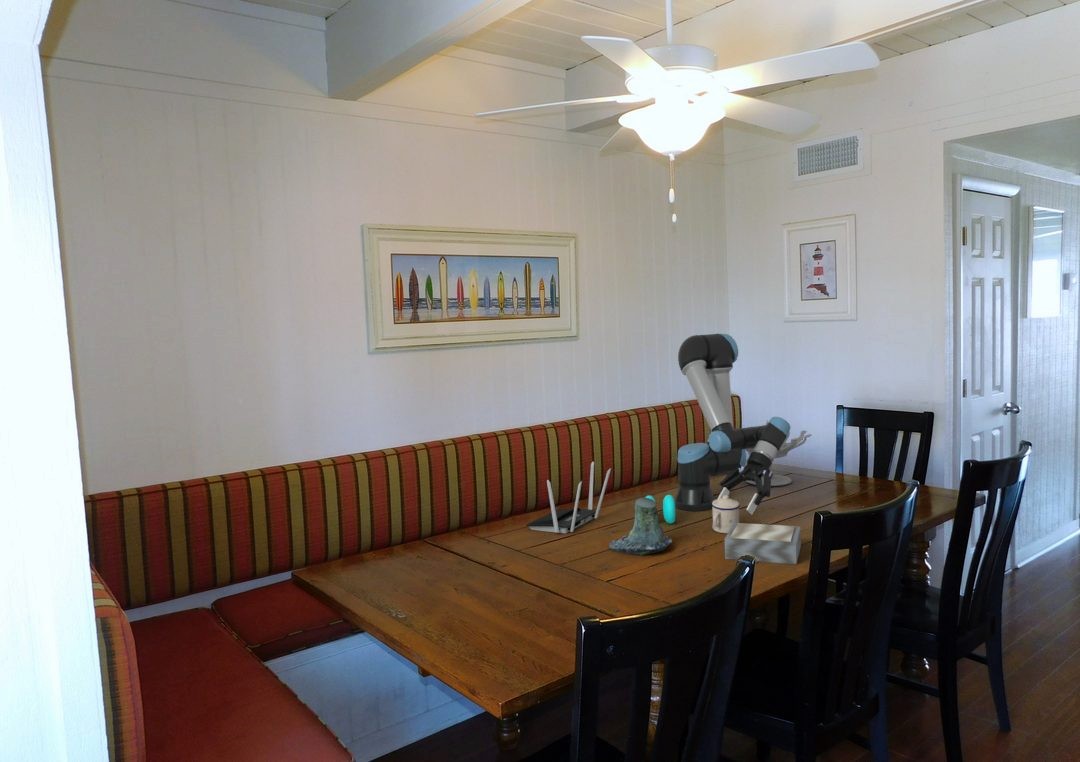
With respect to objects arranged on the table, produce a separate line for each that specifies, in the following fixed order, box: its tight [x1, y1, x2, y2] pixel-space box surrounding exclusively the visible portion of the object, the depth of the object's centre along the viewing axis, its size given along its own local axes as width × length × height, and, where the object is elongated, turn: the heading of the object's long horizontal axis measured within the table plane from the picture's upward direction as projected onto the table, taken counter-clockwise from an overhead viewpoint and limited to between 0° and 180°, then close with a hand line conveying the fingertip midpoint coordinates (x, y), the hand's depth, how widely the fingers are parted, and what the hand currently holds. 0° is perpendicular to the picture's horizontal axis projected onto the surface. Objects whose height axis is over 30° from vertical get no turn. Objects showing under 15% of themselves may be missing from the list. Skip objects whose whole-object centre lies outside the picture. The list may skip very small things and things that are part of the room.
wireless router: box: [526, 461, 612, 534], centre depth 268 cm, size 34×23×20 cm
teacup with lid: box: [711, 495, 741, 534], centre depth 251 cm, size 12×9×12 cm
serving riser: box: [724, 522, 802, 565], centre depth 228 cm, size 20×18×6 cm
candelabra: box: [745, 421, 812, 487], centre depth 320 cm, size 34×35×27 cm
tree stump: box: [608, 497, 673, 556], centre depth 238 cm, size 19×21×19 cm
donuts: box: [644, 494, 676, 524], centre depth 266 cm, size 10×10×10 cm
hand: (733, 508), depth 251 cm, fingers open, 13 cm apart
